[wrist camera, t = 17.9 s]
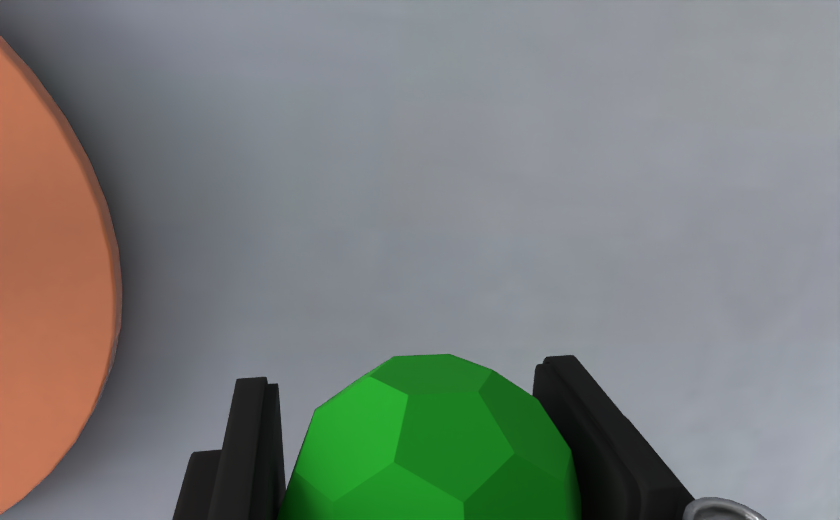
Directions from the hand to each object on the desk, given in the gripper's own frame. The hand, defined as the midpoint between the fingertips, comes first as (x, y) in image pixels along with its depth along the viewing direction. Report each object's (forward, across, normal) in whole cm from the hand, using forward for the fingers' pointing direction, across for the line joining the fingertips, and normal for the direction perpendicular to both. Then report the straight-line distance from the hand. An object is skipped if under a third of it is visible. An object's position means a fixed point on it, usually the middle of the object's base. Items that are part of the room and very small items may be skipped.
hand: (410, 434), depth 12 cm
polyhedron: (+1, 0, 0) cm, 1 cm away
